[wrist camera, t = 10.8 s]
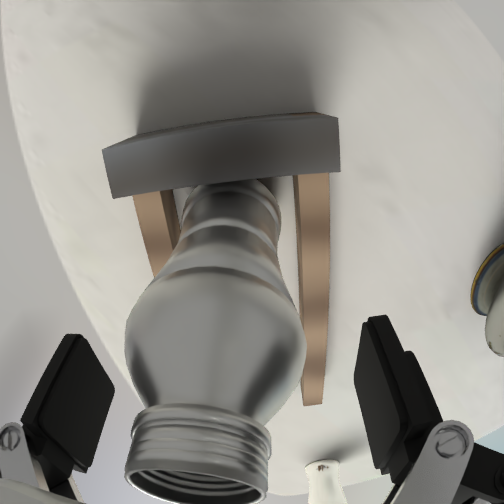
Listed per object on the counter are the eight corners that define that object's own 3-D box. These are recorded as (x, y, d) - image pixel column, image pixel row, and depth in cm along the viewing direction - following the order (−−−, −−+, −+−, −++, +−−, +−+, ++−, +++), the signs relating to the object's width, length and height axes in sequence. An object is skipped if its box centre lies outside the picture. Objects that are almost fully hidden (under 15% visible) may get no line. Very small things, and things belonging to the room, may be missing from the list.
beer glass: (346, 464, 46) (359, 534, 33) (312, 475, 48) (320, 543, 34) (332, 454, 43) (344, 532, 30) (295, 466, 45) (301, 541, 32)
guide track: (136, 135, 21) (101, 149, 16) (315, 112, 20) (337, 117, 15) (204, 391, 34) (199, 434, 29) (318, 383, 33) (326, 426, 28)
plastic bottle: (189, 164, 22) (22, 402, 5) (282, 168, 22) (365, 440, 5) (190, 243, 25) (109, 500, 8) (275, 248, 25) (302, 518, 8)
